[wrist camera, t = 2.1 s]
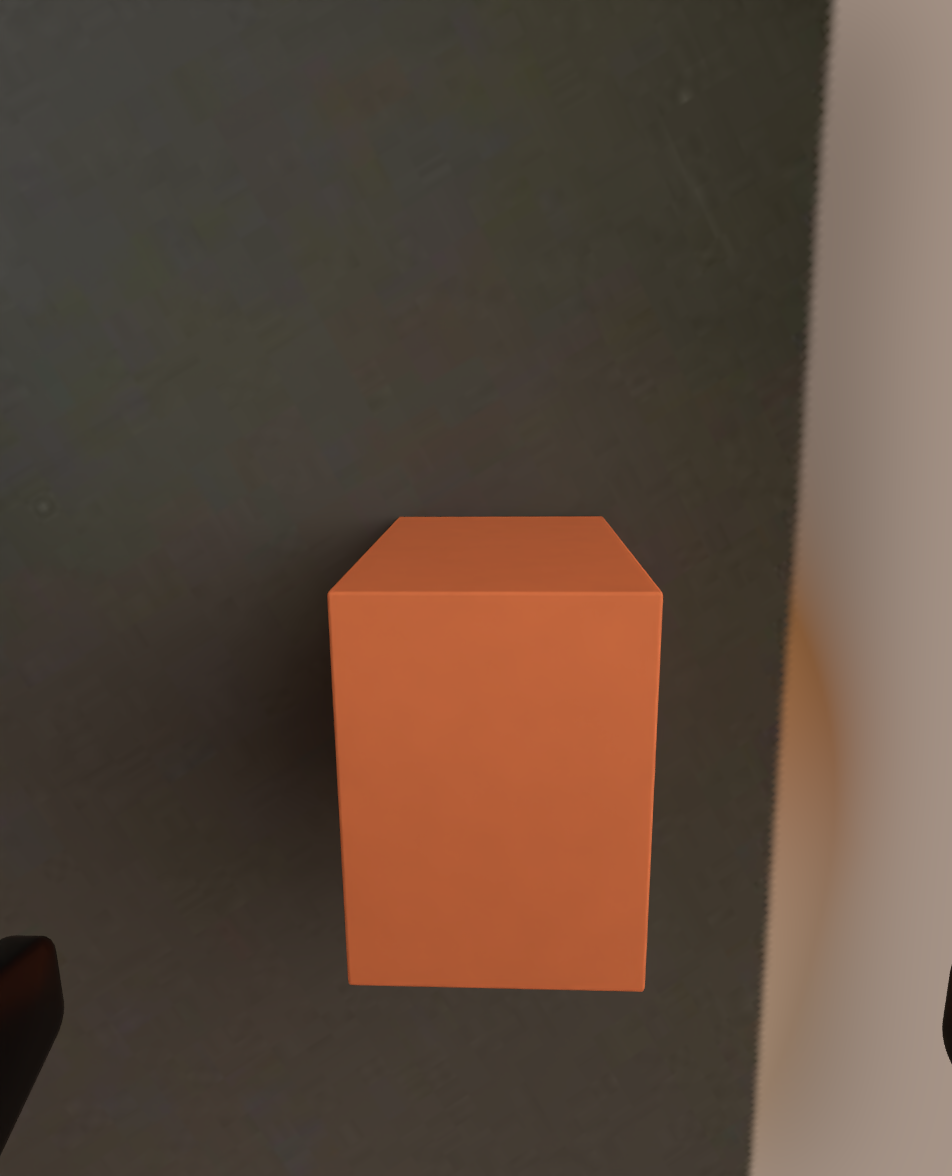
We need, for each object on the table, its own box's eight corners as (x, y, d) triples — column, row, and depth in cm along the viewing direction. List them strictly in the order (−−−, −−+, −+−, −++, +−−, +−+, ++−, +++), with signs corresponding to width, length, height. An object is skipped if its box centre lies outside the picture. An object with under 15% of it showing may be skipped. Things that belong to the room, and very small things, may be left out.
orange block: (596, 776, 19) (645, 993, 12) (406, 774, 19) (347, 986, 12) (603, 516, 17) (664, 592, 10) (397, 516, 17) (325, 591, 11)
